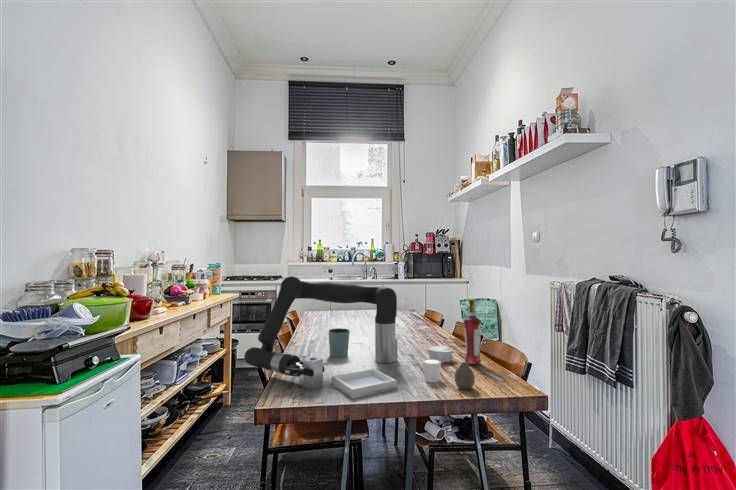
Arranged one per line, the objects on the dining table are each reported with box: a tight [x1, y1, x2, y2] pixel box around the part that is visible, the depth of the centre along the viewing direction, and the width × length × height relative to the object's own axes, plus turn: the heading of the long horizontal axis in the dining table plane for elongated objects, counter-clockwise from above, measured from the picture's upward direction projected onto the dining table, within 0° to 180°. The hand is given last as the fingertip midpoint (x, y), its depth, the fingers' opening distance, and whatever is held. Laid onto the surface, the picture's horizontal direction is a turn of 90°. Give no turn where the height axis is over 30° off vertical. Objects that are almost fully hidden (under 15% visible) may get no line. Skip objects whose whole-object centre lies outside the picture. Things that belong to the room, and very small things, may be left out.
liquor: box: [463, 298, 482, 366], centre depth 162 cm, size 7×7×28 cm
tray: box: [331, 368, 398, 399], centre depth 134 cm, size 18×16×3 cm
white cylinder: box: [422, 358, 442, 383], centre depth 141 cm, size 7×7×7 cm
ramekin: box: [427, 345, 454, 364], centre depth 168 cm, size 11×11×5 cm
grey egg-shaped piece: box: [454, 362, 476, 391], centre depth 132 cm, size 7×7×9 cm
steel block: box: [302, 356, 324, 391], centre depth 134 cm, size 5×5×10 cm
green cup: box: [328, 328, 350, 359], centre depth 177 cm, size 10×10×12 cm
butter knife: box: [481, 369, 504, 382], centre depth 153 cm, size 1×27×3 cm
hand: (318, 371), depth 132 cm, fingers closed on steel block, 5 cm apart
